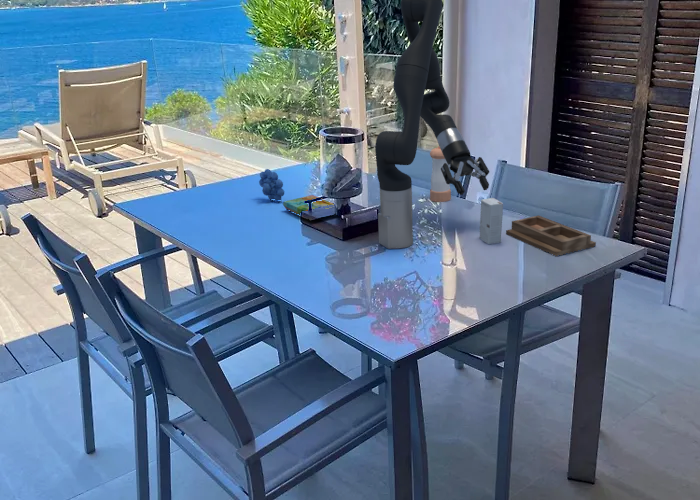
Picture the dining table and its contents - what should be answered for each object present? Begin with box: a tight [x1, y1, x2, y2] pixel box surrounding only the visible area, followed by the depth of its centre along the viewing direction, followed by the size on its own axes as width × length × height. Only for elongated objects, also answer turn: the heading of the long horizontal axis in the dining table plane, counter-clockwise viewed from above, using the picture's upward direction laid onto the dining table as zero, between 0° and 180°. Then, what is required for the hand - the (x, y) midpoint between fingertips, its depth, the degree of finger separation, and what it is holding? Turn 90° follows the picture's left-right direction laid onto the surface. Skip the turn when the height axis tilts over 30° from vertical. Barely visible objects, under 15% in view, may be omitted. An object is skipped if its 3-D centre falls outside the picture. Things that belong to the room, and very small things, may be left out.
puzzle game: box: [282, 194, 335, 215], centre depth 234 cm, size 12×5×20 cm
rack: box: [505, 215, 597, 257], centre depth 198 cm, size 14×22×4 cm, turn 25°
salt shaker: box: [429, 145, 452, 203], centre depth 240 cm, size 7×7×19 cm
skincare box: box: [479, 197, 504, 245], centre depth 199 cm, size 6×4×12 cm
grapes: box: [258, 168, 285, 201], centre depth 250 cm, size 12×7×12 cm, turn 53°
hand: (474, 191), depth 204 cm, fingers open, 8 cm apart
